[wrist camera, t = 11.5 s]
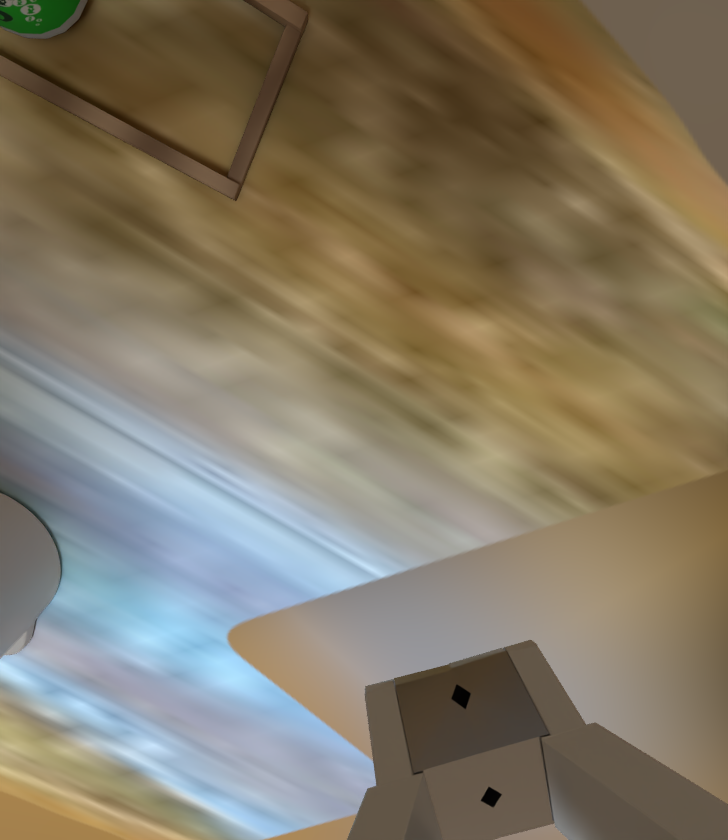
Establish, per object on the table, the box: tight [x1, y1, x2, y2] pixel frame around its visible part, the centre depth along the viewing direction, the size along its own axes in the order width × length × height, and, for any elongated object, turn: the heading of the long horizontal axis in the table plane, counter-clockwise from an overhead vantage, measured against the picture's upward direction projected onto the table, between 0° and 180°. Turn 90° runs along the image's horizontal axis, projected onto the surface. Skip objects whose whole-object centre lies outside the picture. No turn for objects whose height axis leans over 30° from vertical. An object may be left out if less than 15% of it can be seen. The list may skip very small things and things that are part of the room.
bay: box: [0, 0, 308, 201], centre depth 28 cm, size 23×12×3 cm, turn 63°
